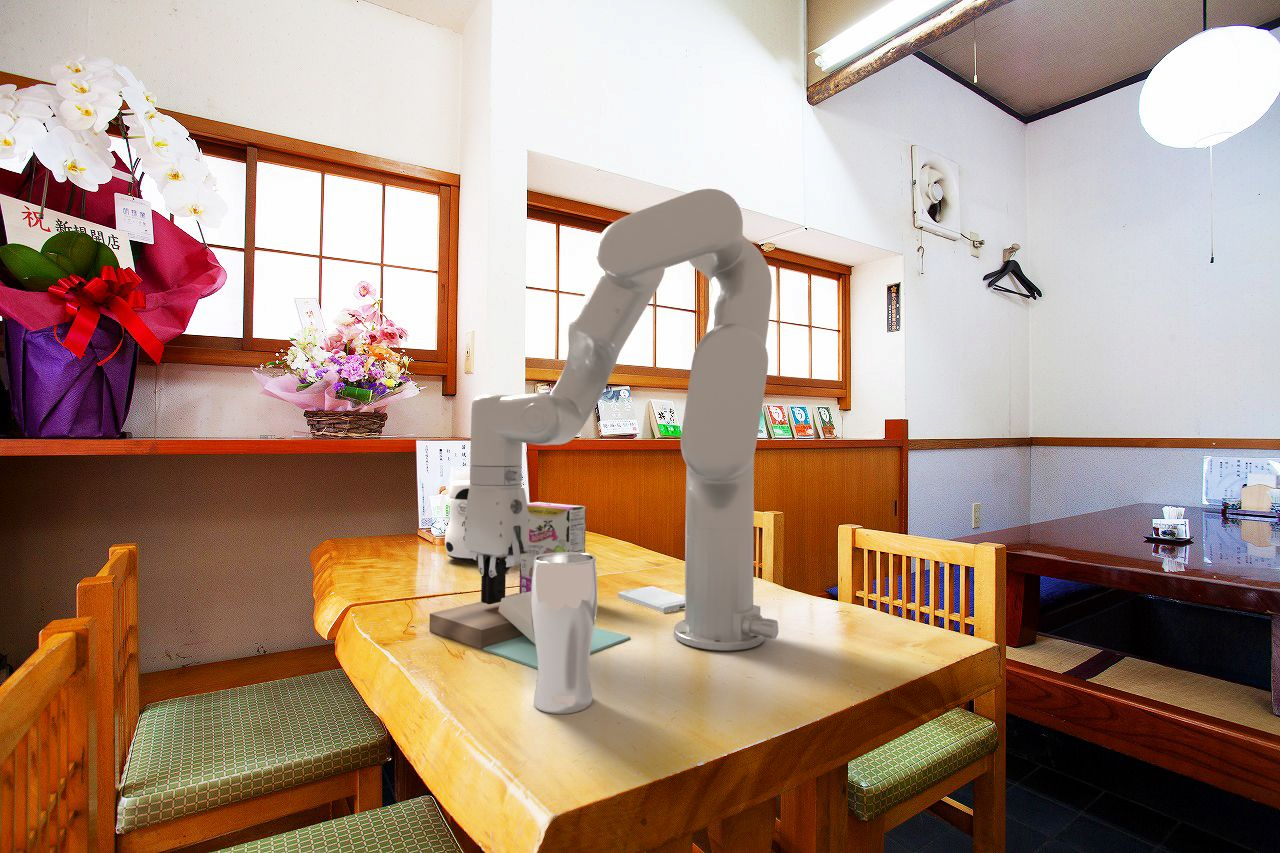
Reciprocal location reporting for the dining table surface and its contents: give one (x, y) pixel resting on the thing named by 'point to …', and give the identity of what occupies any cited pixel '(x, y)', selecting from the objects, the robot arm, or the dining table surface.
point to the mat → (527, 654)
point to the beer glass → (563, 629)
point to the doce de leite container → (457, 522)
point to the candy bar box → (551, 534)
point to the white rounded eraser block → (519, 612)
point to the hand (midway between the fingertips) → (493, 601)
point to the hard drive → (654, 598)
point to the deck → (474, 624)
